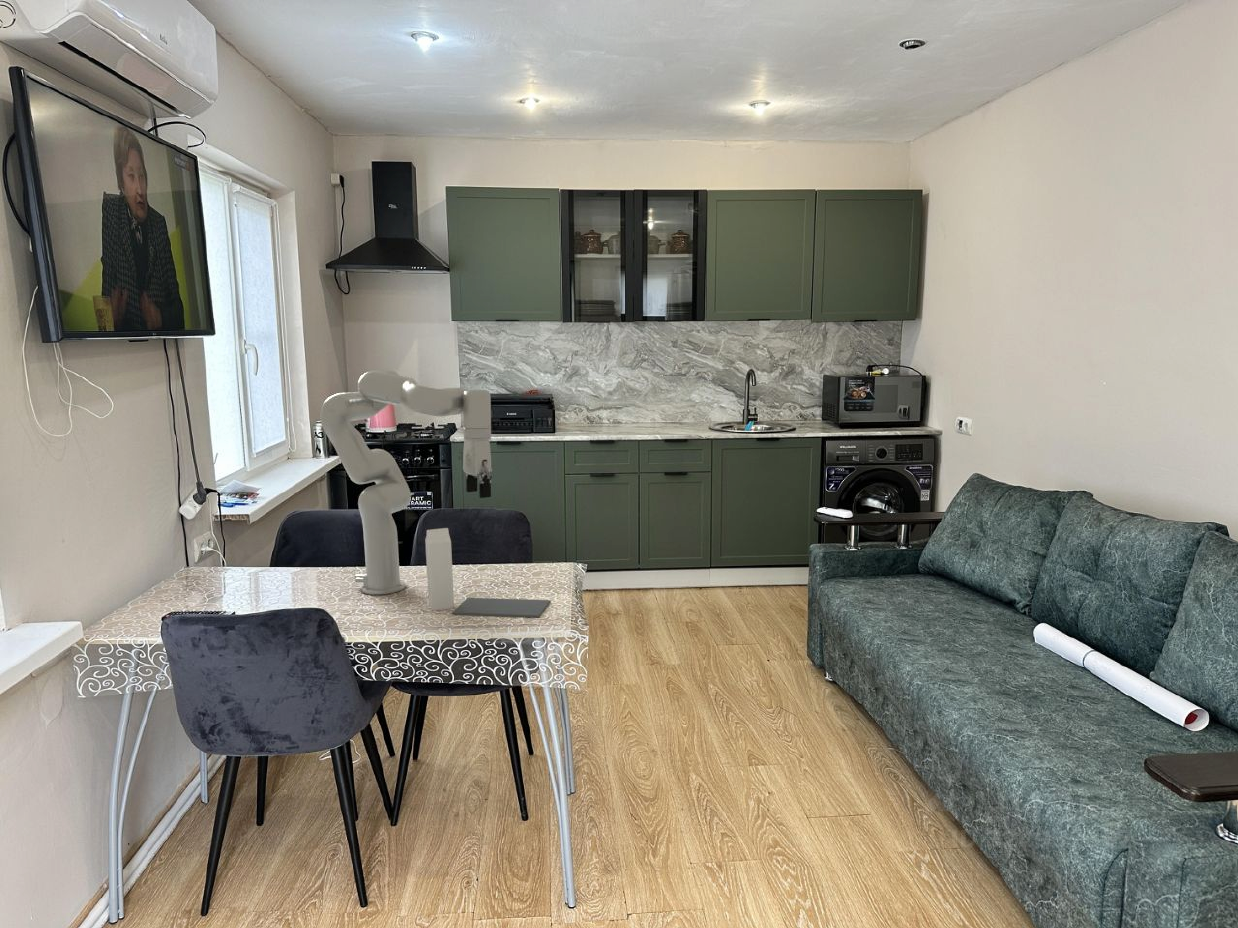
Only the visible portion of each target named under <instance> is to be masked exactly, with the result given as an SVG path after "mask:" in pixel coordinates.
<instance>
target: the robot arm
mask: <svg viewBox="0 0 1238 928" xmlns="http://www.w3.org/2000/svg"><path fill="white" fill-rule="evenodd" d="M389 405H394V406H398V407H402V408H405V409H407V410H409V411H412V412H415V413H419V414H423V415H428V416H433V417H439V418H440V417H442V418H443V417H448V416H455V415H456V416H457V415H462V417H463V419H462V420H463V422H462V423H463V440H464V441H463V454H462V455H463V456H462V470H463V472H464V473H465V488H466V490H465V491H466V492H467V493H473V492H478V493H479V494H478V495H479V498H480V499H484V498H491V497H492V490H491V489H492V474H493V468H492V455H491V445H490V443H491V440H492V416H491V415H492V414H491V411H492V410H491V405H492V403H491V393H490V391H489V390H487V389H483V388H481V389H479V388H478V389H476V388H475V389H471V388H470V389H468V388H461V387H447V388H434V387H427V386H423V385H419V384H418V383H417V381H416V379H414V378H412V377H408V376H402V375H399V373H397V372H395V371H393V370H371V371H367V372H365V373H364V374H362V375H361V376H360V377H359V379H358V381H357V391H353V392H352V391H351V392H349V391H348V392H339V393H336V394H333V395H331V396H329V397H328V398H327V399H326V400H325V401H324V402H323V404H322V406H321V409H320V414H319V417H320V424H321V427H322V429H323V431H324V433H325V435H326V436H327V438H328V439H329V441H330V443H331V444H332V446H333V447H334V449H335V451H336V454H337V456H338V458H339V460H340V462H341V463H342V465H343V468H344V469H345V471H346V473H347V475H348V477H349V478H350V480H351V481H352V482H353V483H355V484H357V485H364V484H369V483H373V482H374V483H375V484H373V485H371V486H368V487H366V488H365V489H363V491H362V492H361V493H360V494H359V496H358V499H357V500H358V501H357V505H358V510H359V514H360V518H361V523H362V530H363V542H364V543H363V546H364V557H365V558H364V561H365V574H362V573H361V574H357V573H356V574H355V575H354V582H355V583H362V584H363V585H362V586H361V593H364V594H367V595H388V594H394V593H397V592H400V591H402V590H404V589H406V582H405V581H404V580H401V576H400V574H401V573H400V562H399V561H400V559H399V541H398V540H399V539H398V530H397V529H398V528H397V524H396V523H395V520H394V518H393V516H392V514H394V513H396V512H400V511H402V510H404V509H406V508H407V507H408V506H409V504H410V502H411V499H412V498H411V497H412V495H411V489H410V488H409V487H410V486H409V485H408V483H407V481H406V479H405V476H404V475H403V473H402V471H401V469H400V467H399V466H398V463H397V462H396V459H395V458H394V457H393V456H392V455H391V453H390V452H388V451H386V450H385V449H381V448H374V449H370V448H369V447H368V445H367V443H366V441H365V439H364V438H363V436H362V433H360V431H358V430H357V429H356V428H355V426H353V425H352V424H351V422H355V421H362V420H369V419H371V418H373V417H374V416H376V415H377V414H379V413H380V412H381V411H383V410H384V409H385V408H387V406H389ZM477 476H478V477H477ZM478 478H479V482H480V483H478Z"/></svg>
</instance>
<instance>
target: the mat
mask: <svg viewBox="0 0 1238 928" xmlns="http://www.w3.org/2000/svg"><path fill="white" fill-rule="evenodd" d="M550 603H551V600H550V599H528V598H527V599H526V598H525V599H524V598H517V599H516V598H493V597H491V598H490V597H489V598H488V597H487V598H486V597H467V598H466V599H465V600H464V601H463V602H462V603H461V604H459V605H458V606H457V607H456V608H454V610H453V611H452V612H451V615H452V616H453V615H455V616H480V617H481V616H483V617H485V616H486V617H504V618H505V617H509V618H511V617H512V618H537V619H538V618H540V617H541V615H542V614H543V613H544V611H545V610H546V609H547V607H548V606H549V605H550Z"/></svg>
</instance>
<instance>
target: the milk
mask: <svg viewBox="0 0 1238 928" xmlns="http://www.w3.org/2000/svg"><path fill="white" fill-rule="evenodd" d="M424 542H425V557H426V560H425V561H426V576H427V577H426V578H427V593H428V594H427V597H428V606H429V607H430V608H431V611H433V612H435V611H442V610H447V609H449V610H450V609H453V608H454V609H455V598H454V597H455V596H454V577H453V576H454V575H453V573H454V572H453V559H452V558H453V557H452V556H453V555H452V540H451V537H450V533H449V528H448V527H442V528H433V529H427V530H426V536H425V540H424Z"/></svg>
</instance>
